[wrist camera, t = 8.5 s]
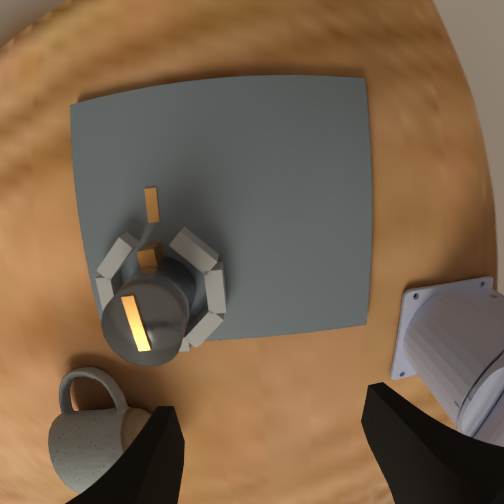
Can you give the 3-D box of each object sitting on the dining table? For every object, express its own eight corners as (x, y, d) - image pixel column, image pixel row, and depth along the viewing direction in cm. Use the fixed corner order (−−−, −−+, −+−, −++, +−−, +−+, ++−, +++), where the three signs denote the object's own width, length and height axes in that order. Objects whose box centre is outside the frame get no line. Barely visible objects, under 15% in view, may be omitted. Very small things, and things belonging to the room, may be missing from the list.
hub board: (360, 81, 17) (374, 72, 15) (362, 319, 21) (374, 335, 19) (75, 106, 16) (58, 101, 14) (110, 337, 21) (99, 354, 18)
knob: (201, 312, 20) (191, 365, 14) (142, 319, 20) (115, 371, 14) (185, 236, 18) (164, 267, 13) (122, 247, 18) (82, 281, 13)
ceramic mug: (181, 443, 24) (171, 511, 17) (110, 451, 24) (89, 509, 17) (120, 351, 21) (83, 419, 14) (48, 369, 22) (6, 424, 14)
